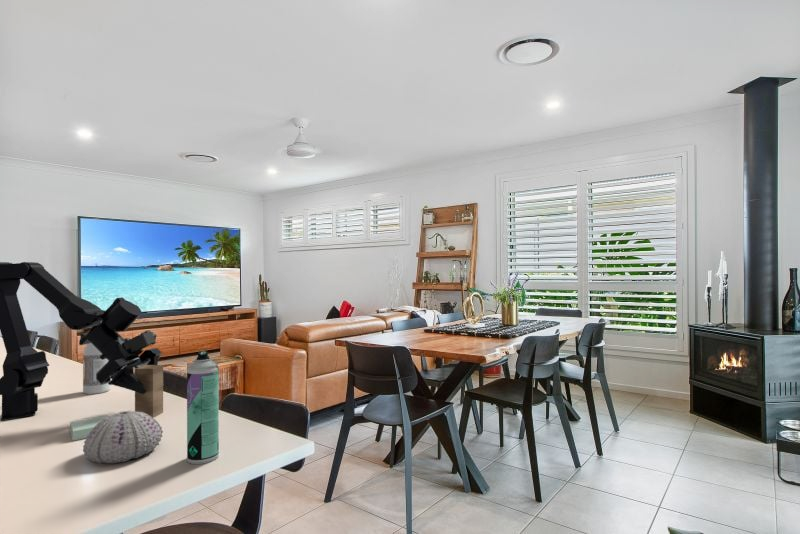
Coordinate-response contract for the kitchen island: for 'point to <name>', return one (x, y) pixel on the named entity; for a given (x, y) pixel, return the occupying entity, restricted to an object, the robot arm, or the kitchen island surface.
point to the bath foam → (93, 371)
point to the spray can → (202, 410)
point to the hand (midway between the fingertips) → (154, 388)
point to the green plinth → (84, 427)
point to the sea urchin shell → (122, 437)
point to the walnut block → (150, 390)
